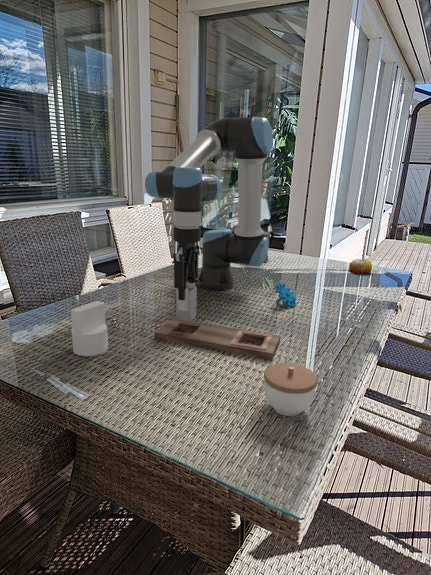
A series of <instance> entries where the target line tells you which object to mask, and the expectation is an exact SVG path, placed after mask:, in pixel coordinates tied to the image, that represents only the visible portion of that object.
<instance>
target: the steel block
mask: <svg viewBox="0 0 431 575" xmlns="http://www.w3.org/2000/svg"><path fill="white" fill-rule="evenodd" d="M187 288H188V310H187V311H183V310H178V288H175V319H180V320H186V321H192V320H194V319H195V318H196V317H197V296H198V295H197V292H198V290H197V289H198V288H197V286H195V287H194V286H187Z"/></svg>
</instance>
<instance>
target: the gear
mask: <svg viewBox="0 0 431 575" xmlns="http://www.w3.org/2000/svg"><path fill="white" fill-rule="evenodd" d="M286 287H287V288H286ZM275 288H276V290H275V292H276V293H278V295H277V297H278V299H276V300H275V303H277V304H278V303H280V302H282V303H283V304H286V306H287V307H289V308H290V307H291V308H294V307H295V306H296V305H297V304H298V303H297V297H296V296H295V293H296V291H294V290H293V291H292V289H291V288H290V286H287V284H285V283H282V282H279V283H278V284H277V285H276V286H275Z"/></svg>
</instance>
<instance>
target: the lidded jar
mask: <svg viewBox="0 0 431 575" xmlns="http://www.w3.org/2000/svg"><path fill="white" fill-rule="evenodd" d="M317 384H318V378H317V376H316V374H315V372H313V371H312V370H311V369H309V368H307V367H306V366H304V365H300V364H297V363H293V362H291V363H290V362H280V363H279V362H277V363H273V364H270V365H269V366H268V367H267V368H265V369H264V373H263V389H264V395H265V398H266V401H267V402H268V404H269V405H270V406H271V408H273V410H274V411H275V412H276V413H277V414H279V415H281V416H286V417H295V416H298V415H300V414H301V413H303V412H304V411H305V410H306V409H307V408H309V407H310V405H311V403H312V401H313V399H314V397H315V392H316V387H317Z"/></svg>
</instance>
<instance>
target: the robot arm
mask: <svg viewBox="0 0 431 575" xmlns="http://www.w3.org/2000/svg"><path fill="white" fill-rule="evenodd" d="M273 143H274V136H273V130H272V125H271V123H270V121H269V120H268V119H267V118H266V117H259V116H250V117H245V116H244V117H223V118H219V119H218V120H215V121H213V122H211V123H209V124H207V125H206V126H205V127H203V128H202V129H201V130H200V131H199V132H198V133H197V134H196V136H195V140H194V141H193V142H192V143H190V145H188V146H187V147H185V149H184V150H182V152H181V153H179V155H178V156H177V157H176V158H174V159H173V160H172V161H171V162H170V163H169V164H168V165H167V166H166V167H164V169H162V170H161V171H152V172H149V173H147V175H146V177H145V180H144V187H145V193H147V195H148V196H150V197H152V198H156V199H165V200H166V199H167V200H173V201H172V202H173V205H172V206H173V208H172V209H173V210H172V214H171V216H172V218H173V220H172V222H173V225H174V227H173V229H172V236H173V237H172V239H173V241H174V242H177V243H178V247H177V253H175V252H174V253H173V254H172V259H173V287H174V289H177V288H178V310H183V311H187V310H188V288H187V286H194V287H196V284H197V286H198V287H199V288H202V289H203V290H209V291H210V290H211V291H225V290H230V289H232V288H233V287H234V282H235V280H234V276H233V274H232V270H231V264H235V265H242V266H249V267H261V266H262V265H263V264H264V263H263V262H264V260H265V258H266V256H267V252H269V247H270V246H269V241H270V239H268V238H266V237H264V229H263V230H262V229H261V219H262V218H261V216H262V214H261V213H262V188H263V187H262V183H263V182H262V180H263V179H262V178H263V163H264V162H265V161H266V159H267V157H268V154H270V153H271V152H272V151H273V145H274V144H273ZM220 153H234V154H233V156H234V158H233V159H234V160H235V161H236V163H237V164H238V165H237V166H238V167H237V168H238V170H237V171H238V172H237V173H238V174H237V176H238V177H237V178H238V180H237V181H238V182H237V185H238V186H237V187H238V188H237V189H238V190H237V191H238V192H237V195H238V196H237V198H238V199H237V205H238V206H237V212H238V213H237V228H235V230H234V232H233V231H232V229H229V228H221V229H211V230H206V231H205V232H204V233H203V235H202V229H201V225H202V203H204V202H210V201H213V200H216V199H217V198H218V197H219V196H220V195H221V192H222V189H223V188H222V182H221V180H220V178H219V177H217V176H216V175H215V174H211V173H204V174H203V172H202V167H203V166H204V165H205V164H206V162H208V160H209V159H210V158H213V157H215V156H217V155H218V154H220ZM201 236H202V258H201V260H202V262H201V263H202V264H201V269H200V271H199V252H200V251H199V250H200V245H197V244H196V243H198V242H201ZM195 283H196V284H195Z"/></svg>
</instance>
